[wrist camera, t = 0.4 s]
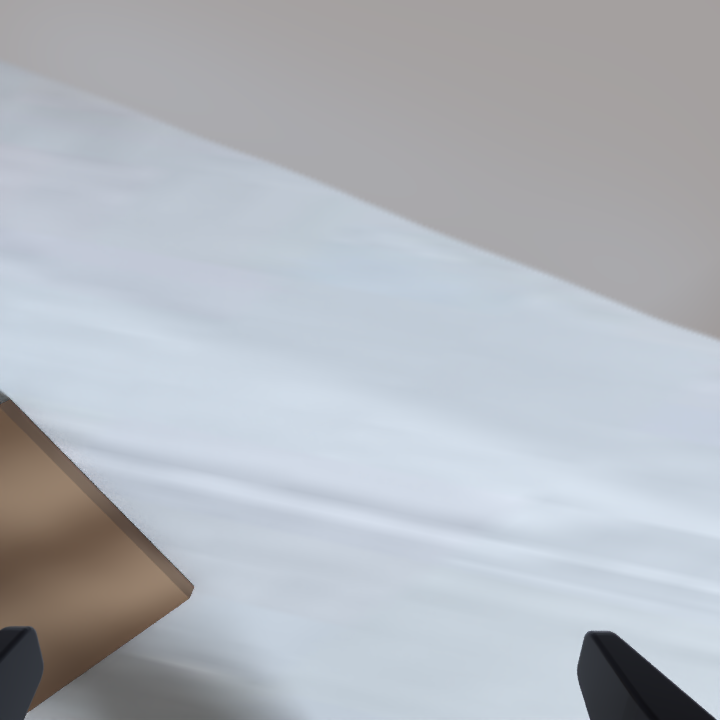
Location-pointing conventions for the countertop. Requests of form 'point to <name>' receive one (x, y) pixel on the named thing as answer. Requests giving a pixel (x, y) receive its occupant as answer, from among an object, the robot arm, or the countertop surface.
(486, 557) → the countertop surface
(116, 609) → the walnut board
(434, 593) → the countertop surface
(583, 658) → the robot arm
